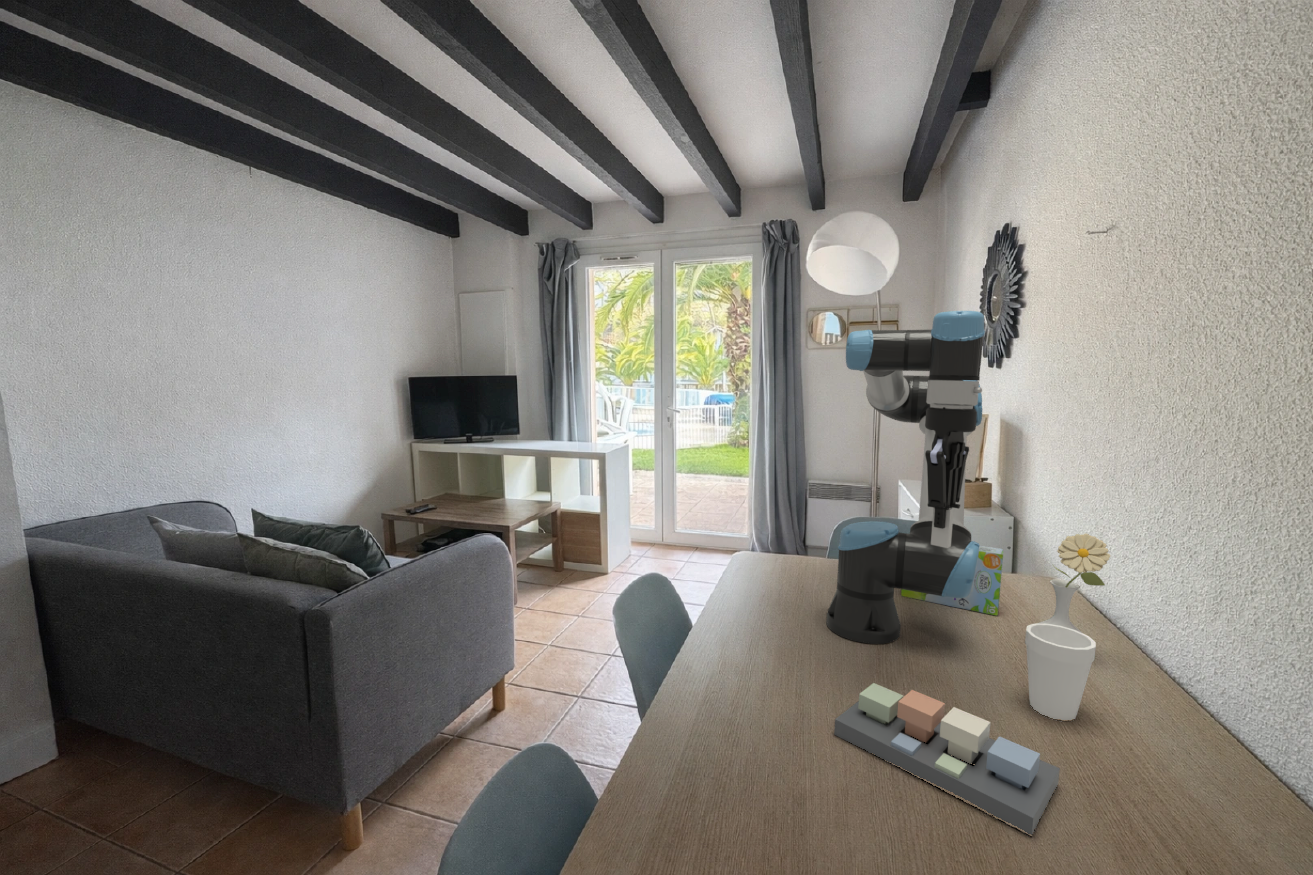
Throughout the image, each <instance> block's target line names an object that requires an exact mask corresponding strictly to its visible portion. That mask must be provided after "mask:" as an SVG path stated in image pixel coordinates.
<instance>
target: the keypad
mask: <svg viewBox="0 0 1313 875" xmlns="http://www.w3.org/2000/svg"><path fill="white" fill-rule="evenodd" d="M858 706H859V700H858V701H857V702H855V703H854V704H853V705H852V706H850V707H849V708H847V710H845V711H844V712H843V713H841V714H840V715H839V716H837V717H836V718H835V719H834V731H833V732H834V733H833V735H835V736H836V737H837V738H840V739H842V740H844V741H845V742H847V741H848V742H847V743H849V742H850V744H851V743H852V744H851V745H853V746H855V745H856V747H857V746H858V748H859V747H860V748H859V749H861V748H862V749H861V750H863V749H865V750H866V751H865V750H864V751H865V752H867V751H868V752H867V753H869V754H870V753H873V754H875V755H876V756H878V757H880V758H882V759H884V760H886V761H888V762H891V763H893V764H895V765H897V766H900V767H902V768H903V769H905V770H907V771H909V772H911V773H913V774H914V775H917V776H919V777H920V778H923V779H926V780H927V781H930V782H931V783H934V784H936V785H937V786H940V787H942V788H944V789H946V790H948V791H950V792H953V793H954V794H955V795H958V796H960V797H962V798H964V799H965V800H968V801H970V802H971V803H973V804H975V805H977V806H978V807H980V808H982V809H984V810H986V811H987V812H988V813H991V814H993V815H994V816H996V817H998V818H1001V819H1002V820H1004V821H1006V822H1008V823H1011V824H1012V825H1014V826H1017V827H1018V828H1020V829H1022V830H1024V831H1025V832H1027V833H1028V834H1031V835H1032V834H1033V835H1034V833H1035V831H1034V829H1035V828H1036V829H1037V827H1038V826H1037V824H1038V822H1039V819H1040V818H1041V816H1042V814H1043V812H1044V810H1045V808H1046V806H1047V804H1048V802H1049V800H1050V798H1051V796H1052V794H1053V792H1054V790H1055V789H1056V790H1057V788H1058V786H1059V780H1060V770H1061V767H1058V766H1056V765H1054V764H1052V763H1049V762H1047V761H1045V760H1042V759H1040V760H1039V770H1038V772H1037V774H1036V776H1035V777H1034V779H1033V781H1032V782H1031V784H1030V786H1029V788H1026V790H1025V791H1024V790H1022V789H1020V788H1018V787H1016V786H1014V785H1012V784H1009V783H1007V782H1005V781H1003V780H1001V779H999V778H997V777H995V774H996V773H995V772H993V771H991V770H988V769H986V765H987V754H988V751H989V749H990V748H991V747H992V745H993V744H994V743H995V741H996V740H997V739H996V740H995V739H993V738H991V737H989V739H988V740H987V742H986V743H985V744H984V745H983V747H982V748H981V749H980V751H979V752H978V756H977V757H976V758H975V759H974V761H973V762H972V764H975V765H974V766H972V765H970V764H968V763H966V762H964V761H962V760H960V759H958V758H956V757H953V756H951V755H950V754H948V742H949V740H947V739H944V738H942V737H940V727H941V722H940V723H939V724H938V725H937V726H936V727H935V728H934V735H933V736H932V737H931V738H930V739H929V740H928V741H927V742H926V743H928V744H926V743H924V742H922V741H920V740H917V739H915V738H913V737H911V736H910V735H908V734H906V733H905V723H906V721H905V720H903V719H901V718H898V717H897V716H895V717H894V719H893V720H892V721H891V722H890V723H889V724H888V725H885V724H883V723H881V722H878V721H876V720H874V719H872V718H870V717H868V716H866V712H865V711H863V710H860V709H858ZM876 756H875V757H876ZM878 757H877V758H878ZM880 758H879V759H880ZM882 759H881V760H882ZM884 760H883V761H884ZM886 761H885V762H886ZM888 762H887V763H888ZM1057 785H1058V786H1057ZM1056 787H1057V788H1056ZM1056 790H1055V791H1056ZM1054 793H1055V792H1054ZM1053 795H1054V794H1053ZM1052 797H1053V796H1052ZM1051 799H1052V798H1051ZM1050 801H1051V800H1050ZM1049 803H1050V802H1049ZM1048 805H1049V804H1048ZM1047 807H1048V806H1047ZM1046 809H1047V808H1046ZM1045 811H1046V810H1045ZM1044 813H1045V812H1044ZM1043 815H1044V814H1043ZM1042 817H1043V816H1042ZM1041 819H1042V818H1041ZM1039 823H1040V822H1039ZM1038 825H1039V824H1038ZM1036 826H1037V827H1036ZM1036 829H1035V830H1036ZM1033 832H1034V833H1033ZM1033 835H1032V836H1033Z"/></svg>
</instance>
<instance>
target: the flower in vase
mask: <svg viewBox="0 0 1313 875" xmlns="http://www.w3.org/2000/svg"><path fill="white" fill-rule="evenodd" d="M1057 548H1058V549H1057V550H1056V552H1057V553H1058V557H1059V559H1060V563H1061V564H1063V566H1066V567H1067V568H1068V569H1071V570H1073V571H1075V572H1077V574H1076V575H1075V576H1074V577H1073V578H1071V577H1070V575H1069V574H1067V573H1066V572H1065V571H1063V570H1061V569H1059V568H1057V567H1056V566H1055V565H1054V564H1053V563H1051V564H1052V566H1053V568H1055V569H1056V570H1057V571H1058V572H1060V573H1062V574H1063V575H1065V576H1067V577H1068V578H1069V579H1071V580H1066V579H1058V578H1057V579H1055V578H1053V579H1051V580H1049V583H1050V584H1051V586H1052V587H1053V590H1054V593H1055V594H1054V595H1055V610H1054V613H1053V615H1052V616H1051V617H1050V618H1047V619H1046V620H1043V621H1040V622H1039V623H1040V624H1052V625H1058V626H1063V627H1066V628H1070V629H1073V630H1076V631H1078V632H1081V633H1083V631H1081V630H1080V629H1079V628H1078V627H1076V626H1075V624H1073V622H1072V621H1071V620H1070V615H1069V614H1070V605H1071V601H1072V600H1073V596H1074V594H1075V592H1077V591H1078V590H1079V589H1080V588H1081V585H1080V584H1078V583H1076V582H1074V580H1076V579H1077V578H1078V577H1079V576H1080V578H1081V579H1082V582H1084V584H1086V585H1088V586H1093V587H1094V586H1100V587H1101V586H1106V584H1105V583H1104V581H1103V580H1102V579H1101V577H1100V576H1099V575H1098V574H1097V573H1095V572H1099V571H1101V570H1102V569H1103V568H1104V566H1105V565H1107V564H1108V561H1109V560H1110V558H1111V554H1110V553H1108V552H1109V548H1107V543H1106V542H1104V541H1103V540H1101V539H1099V538H1097V537H1096V536H1094V535H1090V534H1089V533H1083V534H1079V533H1076V534H1074V535H1071V536H1070V535H1068V536H1066V538H1065V539H1064V540H1061V543H1060V545H1058V547H1057Z"/></svg>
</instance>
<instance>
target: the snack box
mask: <svg viewBox="0 0 1313 875" xmlns="http://www.w3.org/2000/svg"><path fill="white" fill-rule="evenodd" d="M1003 560H1004V549H1003V548H1000V547H999V548H998V547H991V546H984V545H980V546H979V554H978V560H977V565H976V570H975V575H974V579H973V584H972V588H971V592H970V594H969V595H968V596H967V597H965V598H953V597H942V596H938V595H933V594H927V593H921V592H915V591H909V590H904V589H900V596H901V597H903V598H904V597H905V598H910V599H914V600H919V601H923V602H928V603H934V604H938V605H943V606H947V607H953V608H956V609H957V608H958V609H962V610H963V609H964V610H968V611H973V612H977V613H982V614H986V615H992V616H995V617H996V616H997V617H998V615H999V610H1000V608H999V607H1000V599H1001V587H1002V586H1001V584H1002V576H1003V574H1002V572H1003Z"/></svg>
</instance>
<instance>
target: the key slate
mask: <svg viewBox="0 0 1313 875" xmlns="http://www.w3.org/2000/svg"><path fill="white" fill-rule="evenodd" d="M1040 758H1041V753H1039V752H1037V751H1034V750H1032V749H1030V748H1028V747H1025V746H1023V745H1021V744H1018V743H1016V742H1014V741H1011V740H1009V739H1007V738H1004V737H1002V736H998V737H997V739H996V741H995V743H994V744H993V745H992V747H991V748H990V749H989V751H988V754H987V765H986V769H988V770H991V771H993V772H995V773H996V774H995V777H997V778H999V779H1001V780H1003V781H1005V782H1007V783H1009V784H1012V785H1014V786H1016V787H1018V788H1020V789H1022V790H1024V791H1025V790H1026V788H1029V786H1030V784H1031V782H1032V781H1033V779H1034V777H1035V776H1036V774H1037V772H1038V770H1039V760H1041V759H1040Z"/></svg>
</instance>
